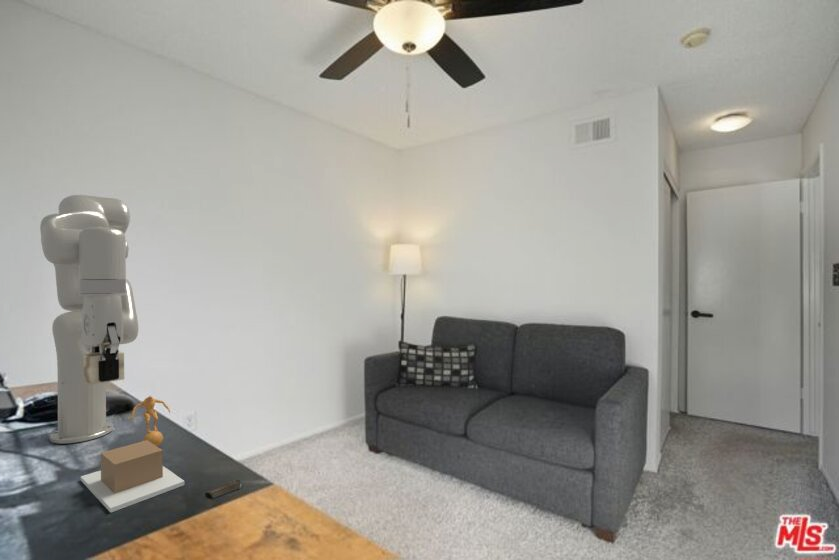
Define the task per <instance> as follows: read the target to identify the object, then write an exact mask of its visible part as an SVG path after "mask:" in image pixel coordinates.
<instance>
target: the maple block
mask: <svg viewBox="0 0 839 560" xmlns="http://www.w3.org/2000/svg"><path fill="white" fill-rule="evenodd" d="M118 353H119V378H118V379H116V380H110V381H104V382H100V381H99V361H101V359H100V352H98V353H89V354H84V381H85V382H87V383H89V384H91V385H93V384H99V383H105V382H106V383H110V382H117V381H124V380H125V352H122V351H118Z"/></svg>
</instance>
